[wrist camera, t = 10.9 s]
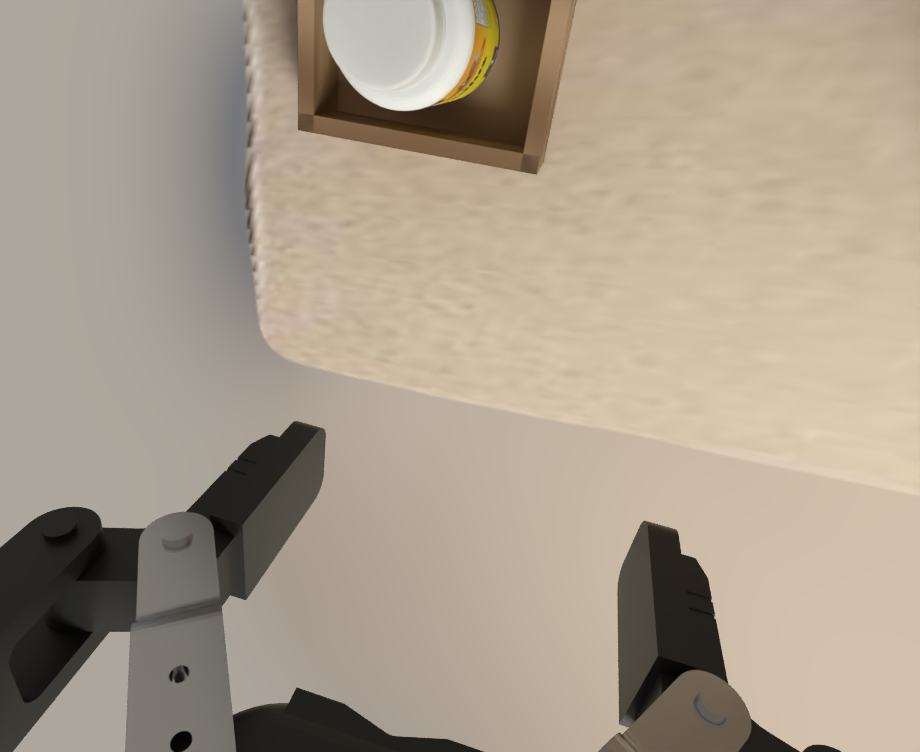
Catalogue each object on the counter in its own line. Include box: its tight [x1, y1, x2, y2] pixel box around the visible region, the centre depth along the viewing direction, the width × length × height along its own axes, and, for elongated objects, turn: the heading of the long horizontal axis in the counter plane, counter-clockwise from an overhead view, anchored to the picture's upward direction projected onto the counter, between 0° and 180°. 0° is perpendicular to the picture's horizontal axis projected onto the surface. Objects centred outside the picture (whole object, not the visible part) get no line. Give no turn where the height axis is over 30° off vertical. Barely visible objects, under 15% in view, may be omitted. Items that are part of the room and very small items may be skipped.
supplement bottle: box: [323, 0, 500, 111], centre depth 23 cm, size 6×6×10 cm
